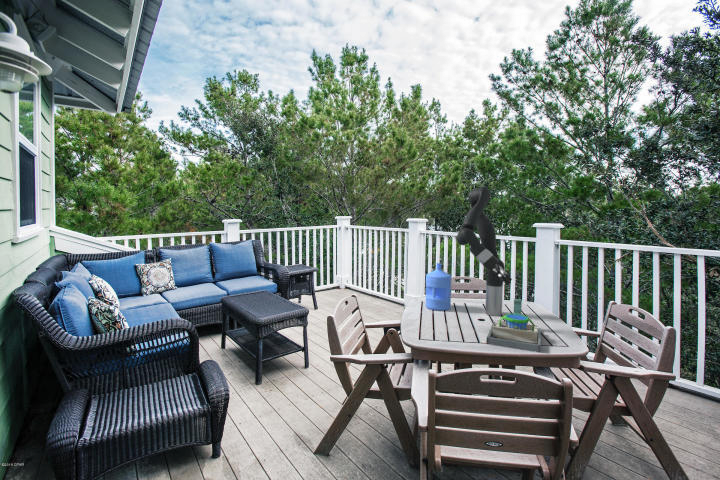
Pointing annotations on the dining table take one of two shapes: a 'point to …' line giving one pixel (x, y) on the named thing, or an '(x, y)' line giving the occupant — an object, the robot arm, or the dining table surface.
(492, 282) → the robot arm
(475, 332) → the dining table surface
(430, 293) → the water jug
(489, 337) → the rectangular frame
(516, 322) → the snack cup
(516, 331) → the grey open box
